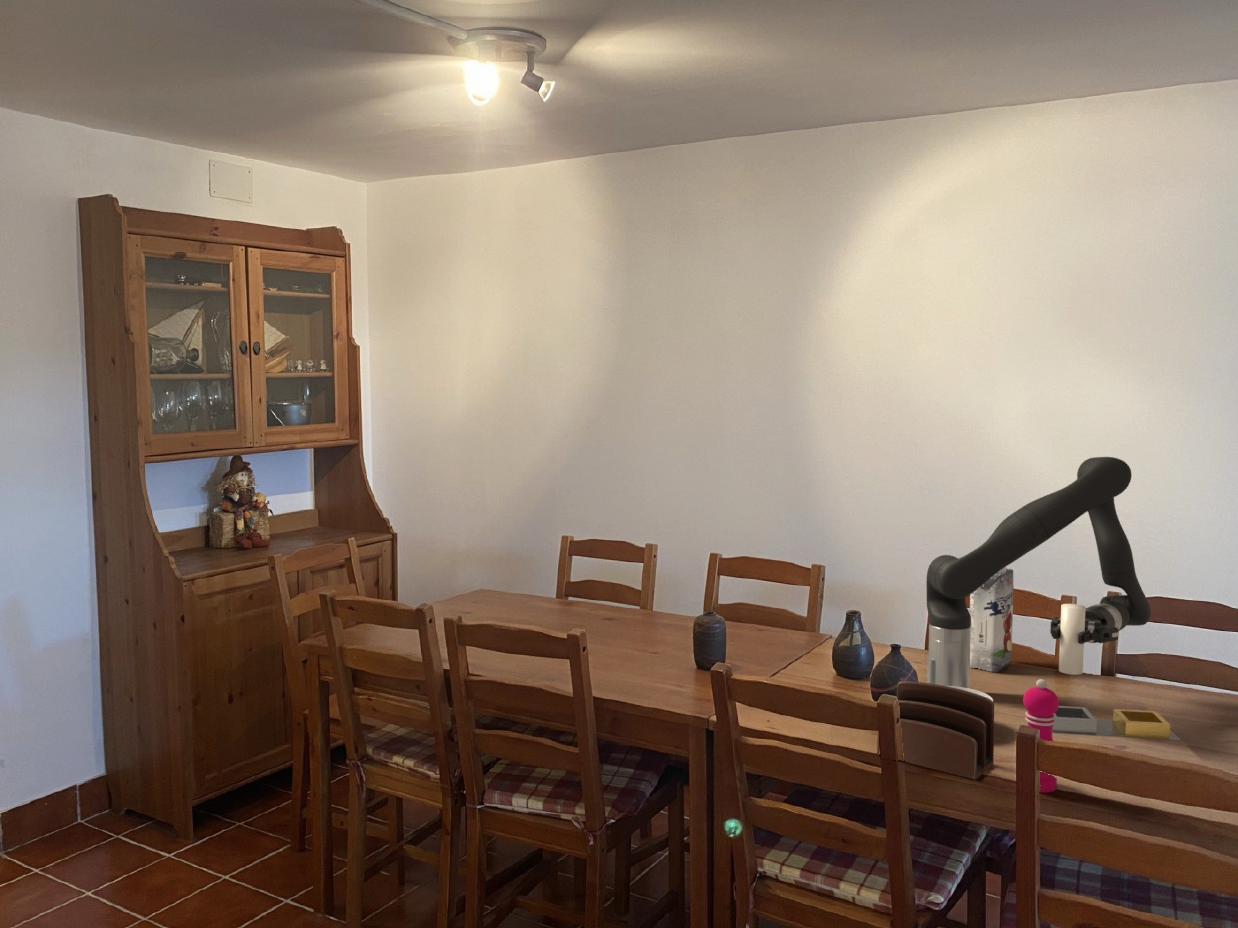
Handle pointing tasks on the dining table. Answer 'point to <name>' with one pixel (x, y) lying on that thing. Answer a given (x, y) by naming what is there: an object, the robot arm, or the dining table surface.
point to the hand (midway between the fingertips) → (1067, 636)
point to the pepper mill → (1042, 721)
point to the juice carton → (992, 622)
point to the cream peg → (1071, 639)
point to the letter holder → (946, 728)
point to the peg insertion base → (1113, 724)
